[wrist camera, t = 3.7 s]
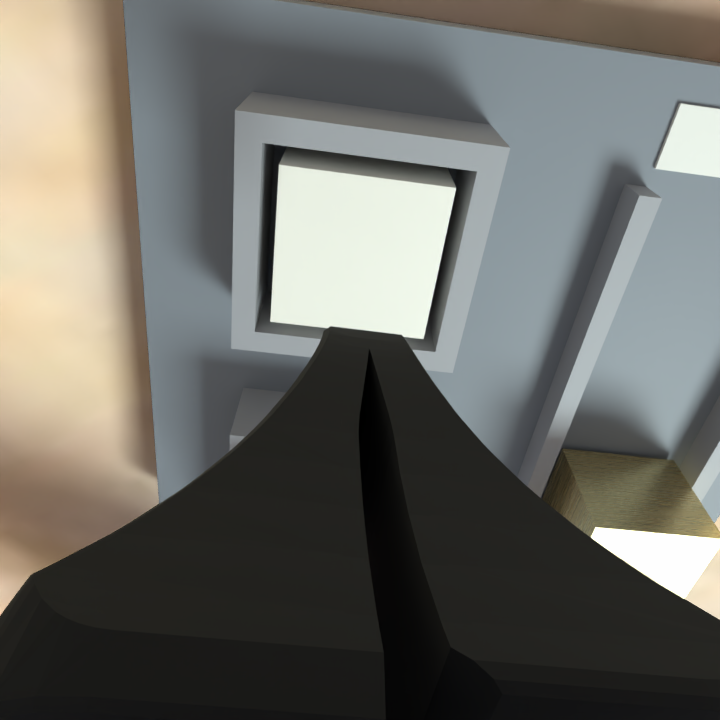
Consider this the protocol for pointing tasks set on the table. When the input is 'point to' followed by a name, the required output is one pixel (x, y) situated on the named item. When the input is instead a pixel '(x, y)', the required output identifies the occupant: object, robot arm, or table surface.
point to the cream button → (358, 241)
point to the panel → (465, 229)
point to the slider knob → (637, 513)
